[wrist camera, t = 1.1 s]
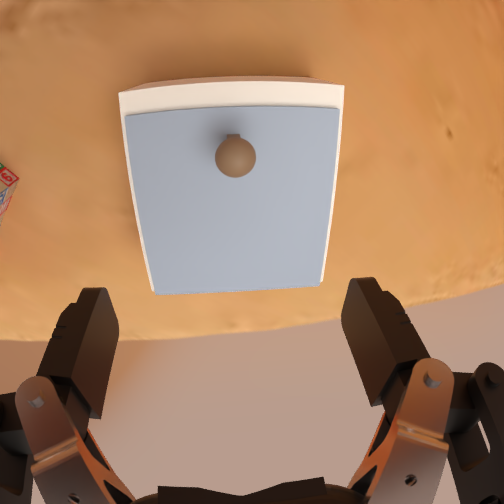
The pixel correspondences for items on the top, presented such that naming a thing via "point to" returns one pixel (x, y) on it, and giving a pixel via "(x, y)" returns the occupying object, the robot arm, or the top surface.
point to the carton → (230, 94)
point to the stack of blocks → (6, 188)
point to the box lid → (233, 195)
